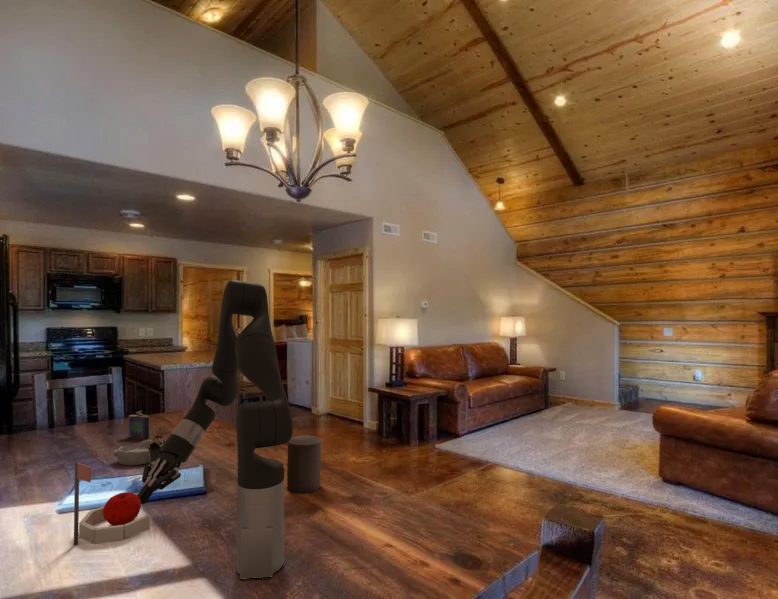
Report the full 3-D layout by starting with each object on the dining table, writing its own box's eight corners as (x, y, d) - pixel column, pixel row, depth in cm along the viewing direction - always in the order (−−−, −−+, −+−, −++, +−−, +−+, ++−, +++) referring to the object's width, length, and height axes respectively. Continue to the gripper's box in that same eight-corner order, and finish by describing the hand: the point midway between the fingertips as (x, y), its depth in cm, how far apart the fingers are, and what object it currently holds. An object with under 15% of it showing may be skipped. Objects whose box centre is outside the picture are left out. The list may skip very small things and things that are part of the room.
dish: (107, 465, 149) (108, 450, 149) (140, 452, 162) (140, 438, 162) (144, 468, 145) (144, 453, 146) (174, 455, 159) (174, 441, 159)
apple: (104, 536, 102) (105, 504, 102) (100, 523, 108) (100, 492, 108) (144, 525, 107) (144, 494, 107) (137, 513, 113) (137, 484, 113)
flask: (126, 438, 179) (127, 411, 179) (132, 436, 182) (132, 409, 182) (145, 439, 177) (146, 412, 177) (151, 437, 180) (151, 411, 180)
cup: (114, 514, 113) (114, 442, 113) (149, 528, 106) (150, 452, 106) (56, 536, 102) (58, 457, 102) (92, 554, 94) (93, 469, 95)
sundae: (164, 473, 141) (164, 425, 141) (174, 478, 137) (174, 429, 137) (142, 479, 136) (142, 430, 136) (151, 485, 132) (152, 434, 132)
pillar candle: (287, 495, 125) (288, 441, 125) (286, 481, 134) (287, 431, 134) (322, 491, 127) (323, 439, 127) (318, 479, 137) (319, 429, 137)
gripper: (159, 429, 123) (113, 490, 112) (190, 436, 116) (144, 501, 106) (177, 443, 127) (134, 503, 117) (207, 451, 121) (165, 515, 110)
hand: (139, 502), depth 111 cm, fingers closed
